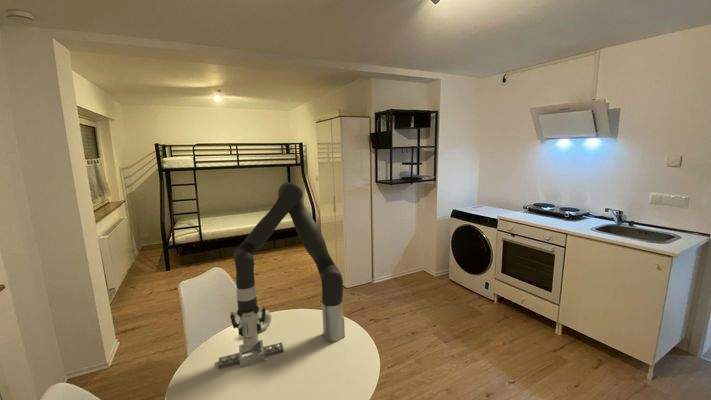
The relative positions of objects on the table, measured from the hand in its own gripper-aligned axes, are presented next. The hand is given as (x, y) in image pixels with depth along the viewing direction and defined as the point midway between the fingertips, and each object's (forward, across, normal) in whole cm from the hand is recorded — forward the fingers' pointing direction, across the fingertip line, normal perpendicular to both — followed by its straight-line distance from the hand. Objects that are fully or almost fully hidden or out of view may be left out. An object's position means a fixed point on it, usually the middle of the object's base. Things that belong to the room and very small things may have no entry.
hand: (250, 333), depth 128 cm
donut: (+11, -6, -18) cm, 22 cm away
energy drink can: (+5, 0, 0) cm, 5 cm away
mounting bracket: (+11, 0, 0) cm, 11 cm away
